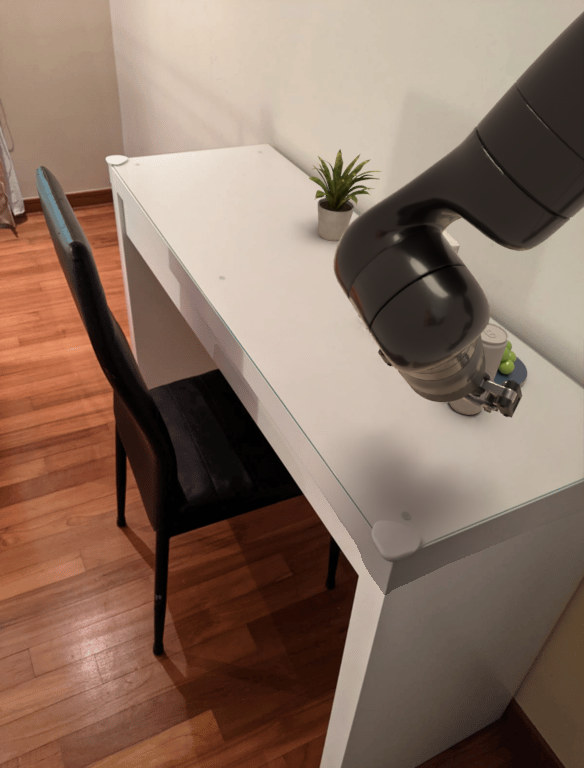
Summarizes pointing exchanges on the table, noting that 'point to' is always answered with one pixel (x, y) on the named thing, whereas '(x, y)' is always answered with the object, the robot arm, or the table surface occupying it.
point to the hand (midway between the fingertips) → (454, 387)
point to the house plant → (338, 196)
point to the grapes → (510, 368)
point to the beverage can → (486, 362)
